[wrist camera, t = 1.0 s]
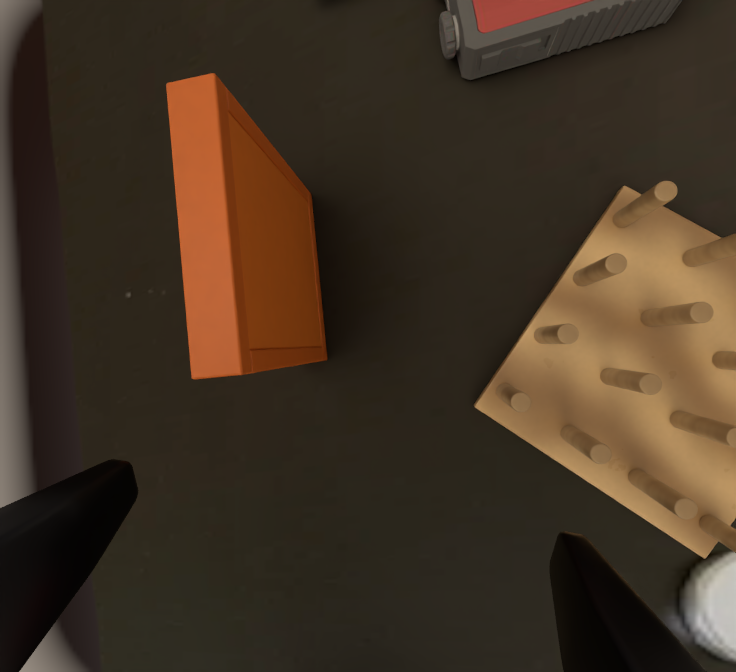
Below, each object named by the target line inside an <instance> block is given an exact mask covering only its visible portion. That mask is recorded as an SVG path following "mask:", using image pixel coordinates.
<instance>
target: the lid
mask: <svg viewBox="0 0 736 672" xmlns="http://www.w3.org/2000/svg"><path fill="white" fill-rule="evenodd" d="M166 87H167V99H168V110H169V122H170V133H171V145H172V156H173V168H174V180H175V191H176V203H177V214H178V226H179V237H180V249H181V260H182V272H183V283H184V295H185V306H186V318H187V329H188V341H189V353H190V364H191V376H192V379H204V378H214V377H225V376H235V375H244V374H249V373H255V372H261V371H267V370H272V369H278V368H284V367H290V366H296V365H301V364H307V363H313V362H319V361H324V360H327V350H326V340H325V329H324V319H323V309H322V299H321V288H320V278H319V268H318V257H317V247H316V237H315V227H314V216H313V206H312V196H311V193H310V192H309V191H308V189H307V188H306V187H305V186H304V184H303V183H302V182H301V181H300V179H299V178H298V177H297V176H296V174H295V173H294V172H293V171H292V169H291V168H290V167H289V166H288V164H287V163H286V162H285V161H284V159H283V158H282V157H281V156H280V154H279V153H278V152H277V151H276V149H275V148H274V147H273V146H272V144H271V143H270V142H269V140H268V139H267V138H266V137H265V135H264V134H263V133H262V132H261V130H260V129H259V128H258V127H257V125H256V124H255V123H254V122H253V120H252V119H251V118H250V117H249V115H248V114H247V113H246V112H245V110H244V109H243V108H242V107H241V105H240V104H239V103H238V102H237V100H236V99H235V98H234V97H233V95H232V94H231V93H230V92H229V90H228V89H227V88H226V87H225V86H224V84H223V83H222V82H221V81H220V79H219V78H218V77H217V76H216V74H214V73H212V74H207V75H202V76H198V77H193V78H188V79H184V80H179V81H175V82H170V83H167V85H166Z"/></svg>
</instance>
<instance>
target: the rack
mask: <svg viewBox="0 0 736 672" xmlns="http://www.w3.org/2000/svg"><path fill="white" fill-rule="evenodd" d="M676 195H677V187H676V185H675V184H674V183H673V182H671V181H662V182H660V183H658V184H657V185H655V186H654V187H652V188H651V189H649V190H648V191H647V192H645V193H644V194H642V195H641V194H640V193H638V192H636V191H634V190H632V189H630V188H628V187H627V186H623V187H622V188H621V189H619V191H618V192H617V194H616V195H615V197H614V198H613V200H612V201H611V203H610V204H609V205H608V207H607V208H606V210H605V211H604V213H603V214H602V216H601V217H600V219H599V220H598V222H597V223H596V225H595V226H594V228H593V229H592V231H591V232H590V234H589V235H588V236H587V238H586V239H585V241H584V242H583V244H582V245H581V247H580V248H579V250H578V251H577V253H576V254H575V256H574V257H573V259H572V260H571V262H570V263H569V265H568V266H567V267H566V269H565V270H564V272H563V273H562V275H561V276H560V278H559V279H558V281H557V282H556V284H555V285H554V287H553V288H552V290H551V291H550V293H549V294H548V296H547V297H546V299H545V300H544V301H543V303H542V304H541V306H540V307H539V309H538V310H537V312H536V313H535V315H534V316H533V318H532V319H531V321H530V322H529V324H528V325H527V327H526V328H525V330H524V331H523V332H522V334H521V335H520V337H519V338H518V340H517V341H516V343H515V344H514V346H513V347H512V349H511V350H510V352H509V353H508V355H507V356H506V358H505V359H504V361H503V362H502V363H501V365H500V366H499V368H498V369H497V371H496V372H495V374H494V375H493V377H492V378H491V380H490V381H489V383H488V384H487V386H486V387H485V389H484V390H483V392H482V393H481V394H480V396H479V397H478V399H477V400H476V402H475V403H474V407H475V408H477V409H478V410H480V411H481V412H483V413H484V414H486V415H487V416H489V417H490V418H492V419H493V420H495V421H496V422H498V423H499V424H501V425H502V426H504V427H505V428H507V429H509V430H510V431H512V432H513V433H515V434H516V435H518V436H519V437H521V438H522V439H524V440H525V441H527V442H528V443H530V444H531V445H533V446H534V447H536V448H537V449H539V450H540V451H542V452H543V453H545V454H546V455H548V456H549V457H551V458H552V459H554V460H556V461H557V462H559V463H560V464H562V465H563V466H565V467H566V468H568V469H569V470H571V471H572V472H574V473H575V474H577V475H578V476H580V477H581V478H583V479H584V480H586V481H587V482H589V483H590V484H592V485H593V486H595V487H596V488H598V489H599V490H601V491H603V492H604V493H606V494H607V495H609V496H610V497H612V498H613V499H615V500H616V501H618V502H619V503H621V504H622V505H624V506H625V507H627V508H628V509H630V510H631V511H633V512H634V513H636V514H637V515H639V516H640V517H642V518H643V519H645V520H646V521H648V522H650V523H651V524H653V525H654V526H656V527H657V528H659V529H660V530H662V531H663V532H665V533H666V534H668V535H669V536H671V537H672V538H674V539H675V540H677V541H678V542H680V543H681V544H683V545H684V546H686V547H687V548H689V549H690V550H692V551H693V552H695V553H697V554H698V555H700V556H701V557H703V558H706V557H707V556H708V554H709V553H710V552H711V550H712V549H713V548H714V546H715V545H716V544H717V542H718V541H719V542H721V543H722V544H723V545H725V546H726V547H728V548H729V549H731V550H732V551H734V552H735V553H736V529H734V528H733V527H731V526H730V525H731V524H732V522H733V521H734V520H735V518H736V233H735V234H732V235H729V236H727V237H724V238H721V237H719V236H717V235H715V234H713V233H712V232H710V231H708V230H706V229H704V228H702V227H700V226H699V225H697V224H695V223H693V222H691V221H689V220H688V219H686V218H684V217H682V216H680V215H678V214H676V213H675V212H673V211H671V210H669V209H667V208H665V207H664V206H662V205H664V204H666V203H668V202H669V201H671V200H673V199H674V198H675V196H676Z"/></svg>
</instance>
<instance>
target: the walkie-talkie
mask: <svg viewBox="0 0 736 672" xmlns="http://www.w3.org/2000/svg"><path fill="white" fill-rule="evenodd" d="M681 2H682V0H445V4H446V8H447V11H445V12H442V13H441V15H440V17H439V31H440V41H441V47H442V52H443V55H444V57H445V58H446V59H451V58H454V56H455V54H457V59H458V64H459V68H460V73H461V77H462V78H465V79H468V80H473V79H476V78H479V77H483V76H486V75H490V74H493V73H497V72H500V71H503V70H507V69H510V68H514V67H517V66H521V65H524V64H527V63H531V62H534V61H538V60H541V59H545V58H548V57H550V56H551V55H555V54H556V55H558V54H560V53H562V52H565V51H567V52H569V51H571V50H572V49H575V48H577V49H579V48H581V47H582V46H586V45H588V46H589V45H592V43H596V42H599V43H600V42H602V41H603V40H606V39H613V38H614V37H616V36H624V34H627V33H634V32H635V31H637V30H644V29H646V28H647V27H651V26H652V27H655V26H657V24H661V23H664V24H665V23H666V22H667V21H668V19H669V18H670V17H671V15H672V14H673V13H674V11H675V10H676V9H677V7H678V6H679V4H680V3H681Z"/></svg>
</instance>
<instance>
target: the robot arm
mask: <svg viewBox="0 0 736 672" xmlns="http://www.w3.org/2000/svg"><path fill="white" fill-rule="evenodd" d="M137 495H138V487H137V483H136V479H135V475H134V471H133V467H132V465H131V464H130V463H129V462H127V461H122V460H116V459H111V460H108V461H105V462H103V463H101V464H98V465H96V466H94V467H92V468H89V469H87V470H85V471H83V472H80V473H78V474H76V475H74V476H72V477H69V478H67V479H65V480H62V481H60V482H58V483H56V484H54V485H51V486H49V487H47V488H45V489H43V490H40V491H38V492H36V493H33V494H31V495H29V496H27V497H24V498H22V499H20V500H18V501H15V502H13V503H11V504H9V505H6V506H5V507H2V508H0V672H19V671H20V670H21V668H22V667H23V666H24V664H25V663H26V661H27V660H28V659H29V657H30V656H31V655H32V653H33V652H34V651H35V649H36V648H37V646H38V645H39V644H40V642H41V641H42V639H43V638H44V637H45V635H46V634H47V633H48V631H49V630H50V629H51V627H52V626H53V624H54V623H55V622H56V620H57V619H58V618H59V616H60V615H61V613H62V612H63V611H64V609H65V608H66V607H67V605H68V604H69V603H70V601H71V600H72V598H73V597H74V596H75V594H76V593H77V592H78V590H79V589H80V587H81V586H82V585H83V583H84V582H85V580H86V579H87V578H88V576H89V575H90V573H91V572H92V571H93V569H94V568H95V566H96V565H97V563H98V561H99V560H100V558H101V557H102V555H103V553H104V552H105V550H106V549H107V547H108V545H109V544H110V542H111V540H112V539H113V537H114V535H115V534H116V532H117V531H118V529H119V527H120V526H121V524H122V522H123V521H124V519H125V517H126V516H127V514H128V512H129V511H130V509H131V508H132V506H133V504H134V503H135V501H136V498H137ZM550 579H551V586H552V594H553V601H554V608H555V616H556V623H557V630H558V638H559V645H560V652H561V659H562V665H563V670H564V672H706V671H705V669H704V668H703V667H702V666H701V665H700V664H699V663H698V662H697V660H696V659H695V658H694V657H693V656H692V655H691V654H690V653H689V652H688V650H687V649H686V648H685V647H684V646H683V645H682V644H681V643H680V641H679V640H678V639H677V638H676V637H675V636H674V635H673V634H672V632H671V631H670V630H669V629H668V628H667V627H666V626H665V625H664V624H663V622H662V621H661V620H660V619H659V618H658V617H657V616H656V615H655V613H654V612H653V611H652V610H651V609H650V608H649V607H648V606H647V605H646V603H645V602H644V601H643V600H642V599H641V598H640V597H639V596H638V594H637V593H636V592H635V591H634V590H633V589H632V588H631V587H630V586H629V584H628V583H627V582H626V581H625V580H624V579H623V578H622V577H621V575H620V574H619V573H618V572H617V571H616V570H615V569H614V568H613V567H612V565H611V564H610V563H609V562H608V561H607V560H606V559H605V558H604V556H603V555H602V554H601V553H600V552H599V551H598V550H597V549H596V548H595V546H594V545H593V544H592V543H591V542H590V541H589V540H588V539H587V538H586V537H585V536H584V535H581V534H576V533H570V532H560V533H559V535H558V537H557V540H556V543H555V547H554V550H553V553H552V557H551V560H550Z"/></svg>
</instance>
